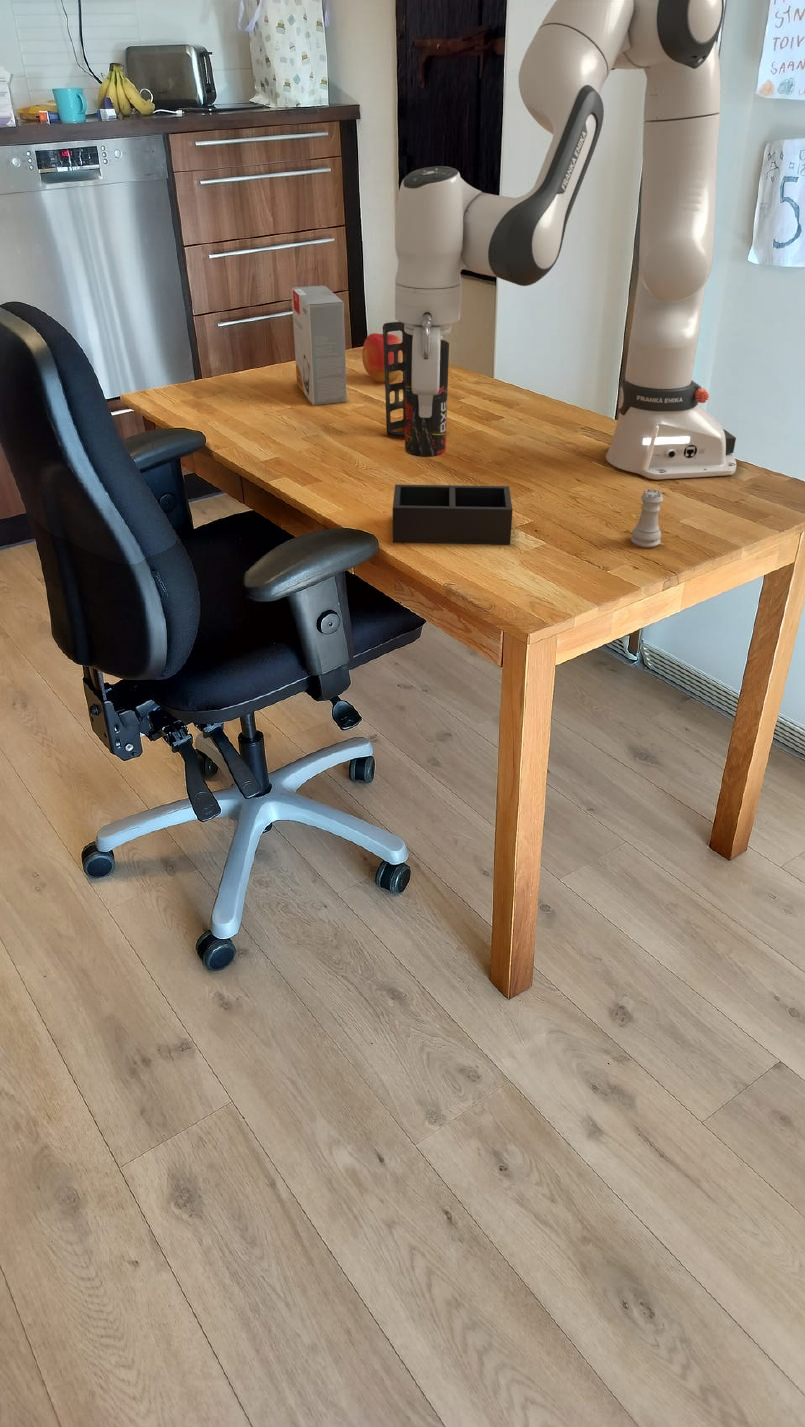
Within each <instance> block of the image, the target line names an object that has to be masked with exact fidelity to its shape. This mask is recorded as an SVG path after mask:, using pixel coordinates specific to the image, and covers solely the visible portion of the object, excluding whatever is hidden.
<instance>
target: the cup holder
mask: <svg viewBox="0 0 805 1427" xmlns="http://www.w3.org/2000/svg"><path fill="white" fill-rule="evenodd" d="M393 490H394V492H393V501H392V543H393V544H434V545H435V544H437V545H442V544H443V545H492V546H495V545H497V546H499V545H501V546H511V539H512V524H513V512H514V511H513V510H514V509H513V504H512V503H513V502H512V497H511V488H510V486H509V485H466V484H465V485H462V484H461V485H460V484H458V485H456V484H453V485H451V484H443V485H442V484H397V483H396V484H394V489H393Z"/></svg>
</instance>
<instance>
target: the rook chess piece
mask: <svg viewBox="0 0 805 1427" xmlns="http://www.w3.org/2000/svg"><path fill="white" fill-rule="evenodd" d="M640 499H641V501H642V505H641V506H640V509H641V513H640V516H639V520H638V523H637V524H636V525H635V527H634V528H633V529H632V531H631V535H632V536H630V541H631V543H632V544H633V545H635V546H636V547H639V548H642V549H654V548H656V547H658V545H660V544H661V543H662V539H661V537H662V531H661V530H660V526H659V512H660V510H661V507H660V504H661V503H662V502H663V501H664V496H663V494H662V490H659V489H657V488H654V489H653V491H652V488H647V489H644V491H643V494H642V495H641V496H640Z"/></svg>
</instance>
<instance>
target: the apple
mask: <svg viewBox="0 0 805 1427" xmlns="http://www.w3.org/2000/svg"><path fill="white" fill-rule="evenodd" d="M387 339H388V344H389V345H391V344H398V343H402V338H400V337H399V336H397V335H395V334H392V333H388V334H387ZM361 354H362V356H361V358H362V359H361V360H362V365H363V367H364V369H365V371H366V373H367V375H369V376H370V377H371V378H372V379H373V380H375V381H376V382H378V383H381V384H382V383H384V384H385V371H384V345H383V333H375V332H374V333H369V334H368V336H366V338H365V340H364V343H363V345H362V353H361ZM398 362H400V363H402V362H403V354H402V351H401V350H400V351H399V352H398ZM393 363H394V353H393V352H389V354H388V364H390V365H391V364H393ZM402 374H403V372H402V371H400V370H398V371H393V372H390V373H389V383H391V382H394V381H396V380H397V379H398V378H399V377H400V376H401V375H402Z"/></svg>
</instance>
